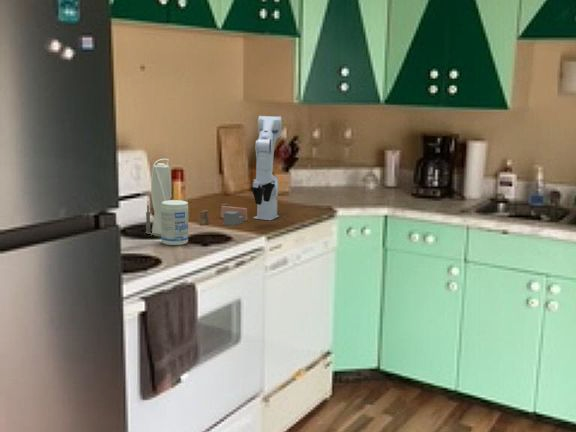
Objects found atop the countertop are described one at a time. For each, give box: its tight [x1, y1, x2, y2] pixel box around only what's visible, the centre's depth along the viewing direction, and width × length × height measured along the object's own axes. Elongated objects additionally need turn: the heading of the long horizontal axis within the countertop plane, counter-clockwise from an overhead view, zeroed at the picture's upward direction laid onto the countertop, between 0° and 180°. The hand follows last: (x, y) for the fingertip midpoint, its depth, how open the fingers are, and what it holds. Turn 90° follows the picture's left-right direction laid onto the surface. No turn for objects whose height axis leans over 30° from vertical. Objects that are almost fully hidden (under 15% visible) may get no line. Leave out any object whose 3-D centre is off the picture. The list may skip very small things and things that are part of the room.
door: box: [220, 205, 248, 222], centre depth 276 cm, size 11×1×5 cm, turn 70°
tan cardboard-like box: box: [199, 203, 229, 226], centre depth 273 cm, size 20×2×6 cm, turn 157°
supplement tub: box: [160, 199, 189, 246], centre depth 234 cm, size 10×10×15 cm
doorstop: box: [223, 211, 245, 227], centre depth 270 cm, size 9×4×5 cm, turn 156°
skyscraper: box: [145, 158, 172, 238], centre depth 246 cm, size 8×8×28 cm
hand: (262, 202), depth 265 cm, fingers open, 7 cm apart
